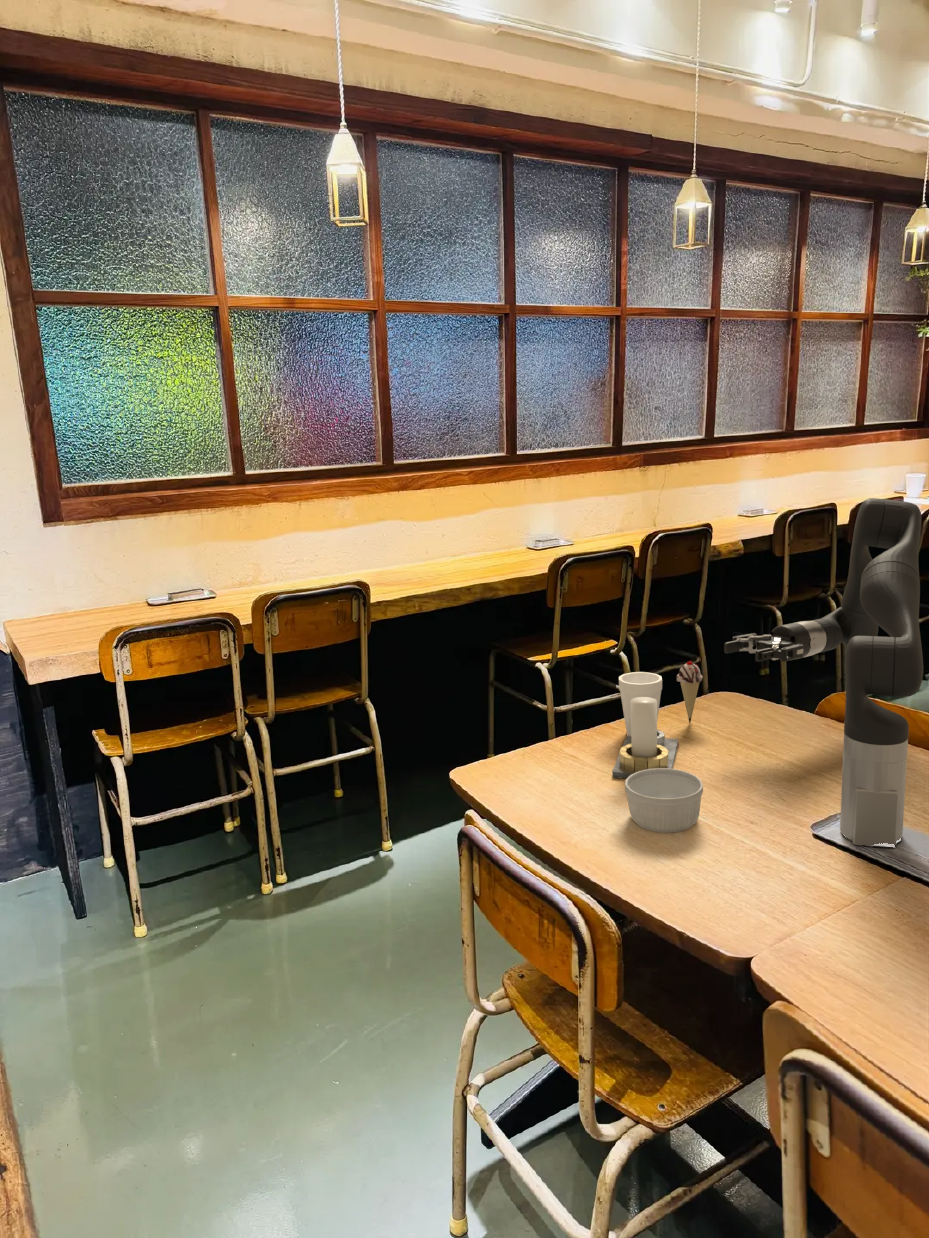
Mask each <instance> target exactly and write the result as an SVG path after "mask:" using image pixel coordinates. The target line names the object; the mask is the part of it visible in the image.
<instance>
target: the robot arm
mask: <svg viewBox="0 0 929 1238" xmlns="http://www.w3.org/2000/svg"><path fill="white" fill-rule="evenodd" d="M921 531H922V511H921V509H920V508H919V506H918V505H917V504H916V503H912V502H909V501H908V502H907V501H902V500H893V499H884V498H877V497H876V498H875V497H873V498H872V497H870V498H867V499H864V500H863V502H862V503H861V505H860V507H859V509H858V511H857V515H856V519H855V523H854V528H853V535H852V542H851V549H850V555H849V556H850V557H849V568H848V575H847V580H846V581H847V582H846V585H845V588H844V591H843V594H842V598H841V603H840V604H841V605H840V606H839V607H838V608H836V609H834V610H833V611H832V612H830V613H828V614H827V615H825V616H823V617H821V618H817V619H812V620H805V621H804V620H803V621H797V622H792V623H787V624H781V625H777V626H776V627H774V628H772V630H771V632H770V633H769V634H763V635H757V633H755V632H753V633H752V632H751V633H746V634H741V635H735V636H732V641H727V642H724V644H723V652H724V653H725V654H733V653H737V652H748V653H749V654H754V660H755V662H759V663H760V662H765V661H768V660H769V661H770V660H772V661H776V660H777V661H778V660H780V661H781V662H783V663H784V662H788V661H793V660H798V659H803V658H807V657H810V656H811V657H812V656H814V655H816V654H819V653H825V652H828V651H832V650H835V649H836V648H838V647H839V646H840V645H841V643H842V645H844V647H846V649H845V653H844V654H845V655H844V675H845V676H844V680H845V681H844V682H845V707H844V708H845V711H844V726H843V748H842V771H841V793H840V820H839V830H840V831H841V832H840V834H841V835H842V834H844V835H845V836H846V837H847V838H849V839H851V840H852V841H853V842H852V841H851V840H850V841H851V842H852V845H854V844H855V846H862V845H866V846H865V847H871V846H870V845H874V844H879V843H880V844H881V843H882V844H883V843H888V844H894V845H896V846H897V844H896V841H897V840H899V839H900V838H901V837H902V838H903V836H902V835H903V834H904V833H903V832H904V816H905V815H904V812H905V797H906V795H905V794H906V780H907V763H908V761H907V759H908V745H909V731H910V730H909V729H910V727H909V722H908V720H907V719H906V718H905V717H904V716H902V715H901V714H899V713H897V712H895V711H892V710H889V709H888V708H885V707H883V706H881V705H879V704H877V703H876V702H875V701H873V700H872V699H871V698H869V695H871V696H882V697H883V696H884V697H898V698H904V697H905V698H907V697H911V696H915V695H916V694H917V693H918V691H919V690H920V689H921V685H922V683H923V676H924V656H923V655H924V654H923V649H922V640H921V639H922V638H921V630H920V604H921V603H920V601H921V599H920V597H921V579H920V568H919V550H920V549H919V548H920V541H921ZM869 547H872V548H873V547H875V548H879V549H887V550H885V551H883V552H882V553H880V554H878V555H877V556H875V558H872V556H871V553H870V550H869ZM879 628H881V629H882V630H883V631H884V632H886V633H887V634H888V635H889V636H880V635H879V636H878V634H879ZM753 647H755V649H754V648H753ZM846 837H845V838H846ZM847 838H846V839H847ZM849 839H848V840H849Z"/></svg>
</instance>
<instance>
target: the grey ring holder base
mask: <svg viewBox="0 0 929 1238" xmlns="http://www.w3.org/2000/svg"><path fill="white" fill-rule="evenodd" d="M665 735H666V733H665V732H664V731H662V730H659V729H657V757H652V758H636V757H633V756H632V744H631V736H628V735H626V736H625V739H624V741H623V744H622V746H621V747H620V749H619V753H618V756H617V760H616V761H615V764H614V766H613V769H612V771H611V772H612V773H611V775H612V778H615V779H625V780H626V779H627V778H628V777H629V776H630V775H632V774H634V773H636V772H639V771H642V770H647V769H654V768H668V769H674V764H675V760H676V756H677V752H678V747H679V738H670V737H668V738H667V737H666V738H665Z"/></svg>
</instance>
